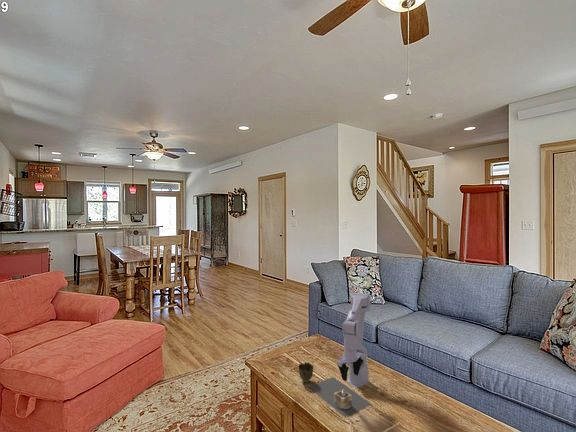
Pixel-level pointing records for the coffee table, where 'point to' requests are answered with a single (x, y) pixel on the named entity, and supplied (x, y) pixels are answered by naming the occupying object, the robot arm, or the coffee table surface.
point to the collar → (342, 399)
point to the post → (343, 394)
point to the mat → (333, 385)
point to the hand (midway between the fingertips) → (350, 377)
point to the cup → (306, 372)
